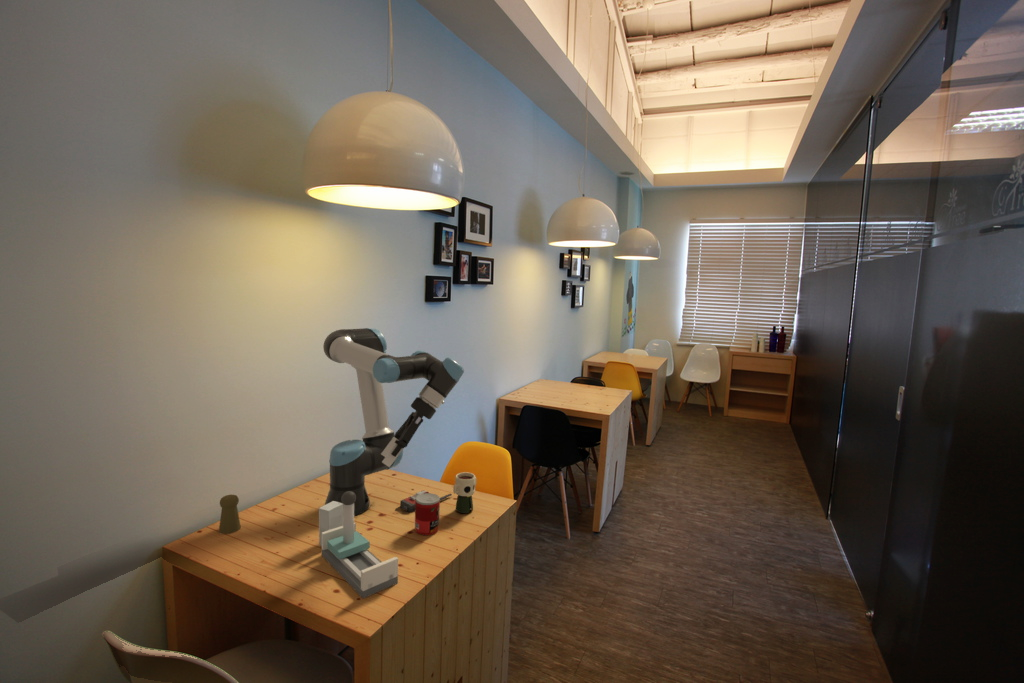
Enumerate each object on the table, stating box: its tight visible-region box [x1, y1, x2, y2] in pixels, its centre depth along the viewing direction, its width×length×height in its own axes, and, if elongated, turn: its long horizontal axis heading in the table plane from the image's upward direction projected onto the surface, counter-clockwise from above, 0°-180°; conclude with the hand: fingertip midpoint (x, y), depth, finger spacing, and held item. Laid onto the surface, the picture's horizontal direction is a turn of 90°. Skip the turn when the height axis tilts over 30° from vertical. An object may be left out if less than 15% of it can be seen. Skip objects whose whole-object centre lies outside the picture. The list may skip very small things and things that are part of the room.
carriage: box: [327, 491, 371, 560], centre depth 137 cm, size 8×9×17 cm
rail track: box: [321, 521, 399, 599], centre depth 133 cm, size 26×10×7 cm, turn 44°
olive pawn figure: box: [218, 494, 242, 535], centre depth 151 cm, size 6×6×11 cm
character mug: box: [452, 471, 477, 514], centre depth 171 cm, size 11×7×13 cm, turn 139°
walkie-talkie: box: [399, 490, 452, 513], centre depth 176 cm, size 9×4×20 cm
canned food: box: [414, 492, 441, 536], centre depth 156 cm, size 8×8×11 cm
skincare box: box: [318, 501, 343, 547], centre depth 146 cm, size 6×4×12 cm
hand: (385, 460), depth 144 cm, fingers open, 13 cm apart
